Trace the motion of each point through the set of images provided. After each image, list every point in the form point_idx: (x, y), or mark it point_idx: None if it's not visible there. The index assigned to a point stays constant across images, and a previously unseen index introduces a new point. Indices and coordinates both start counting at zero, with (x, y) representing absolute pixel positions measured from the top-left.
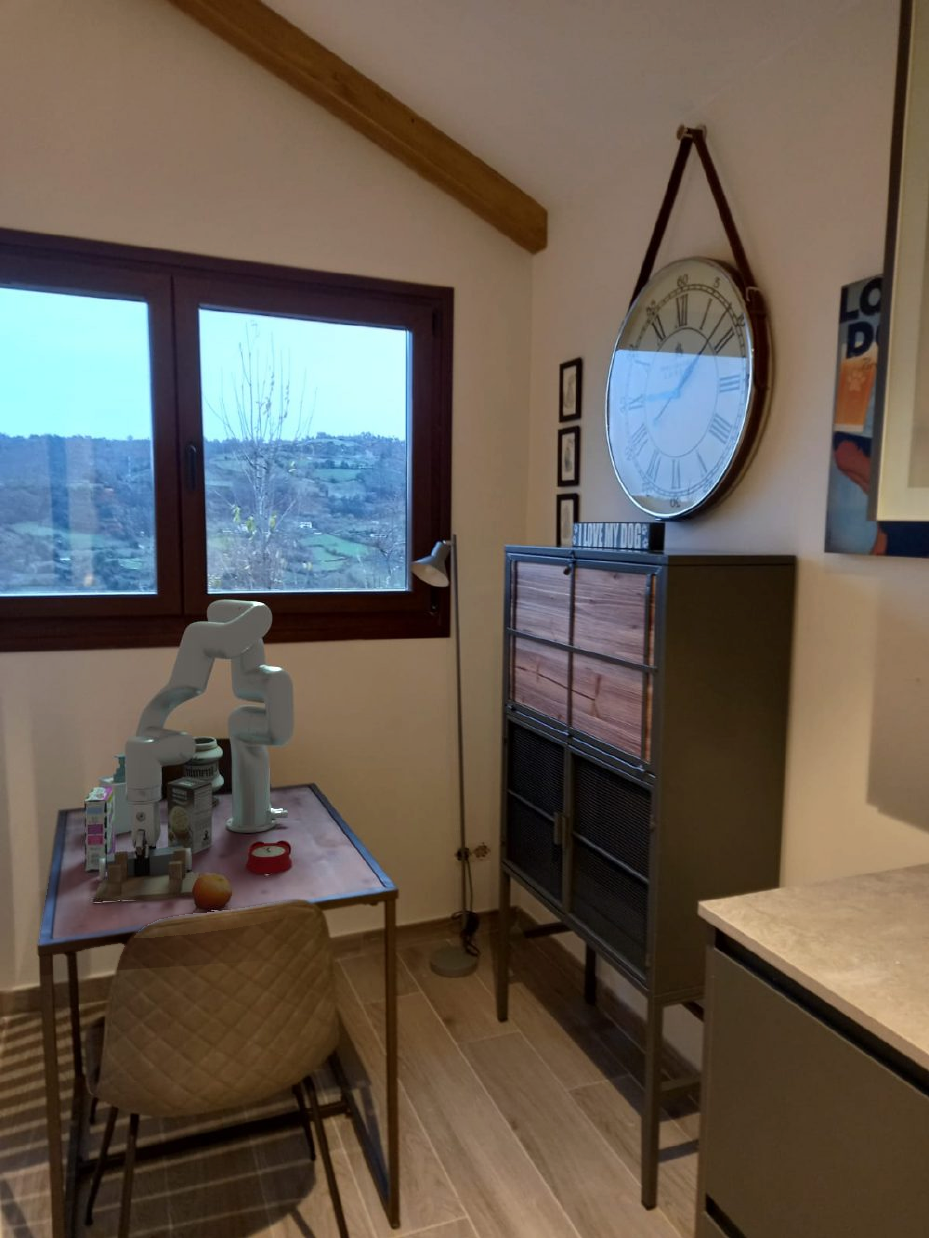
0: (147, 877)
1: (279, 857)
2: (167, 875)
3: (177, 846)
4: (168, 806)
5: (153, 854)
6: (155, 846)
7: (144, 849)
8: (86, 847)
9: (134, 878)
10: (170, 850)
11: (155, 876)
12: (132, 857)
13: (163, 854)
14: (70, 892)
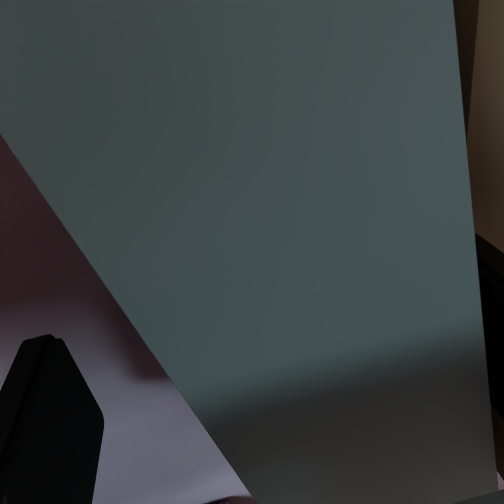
0: (488, 232)
1: None
2: (495, 51)
3: (7, 101)
4: None
5: (419, 351)
6: (7, 446)
7: (78, 493)
8: None
9: None
10: (268, 172)
11: (485, 171)
12: (467, 487)
13: (451, 222)
14: None
